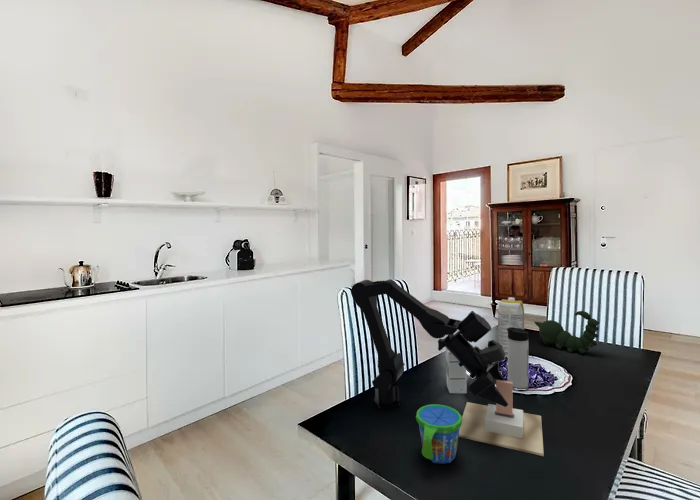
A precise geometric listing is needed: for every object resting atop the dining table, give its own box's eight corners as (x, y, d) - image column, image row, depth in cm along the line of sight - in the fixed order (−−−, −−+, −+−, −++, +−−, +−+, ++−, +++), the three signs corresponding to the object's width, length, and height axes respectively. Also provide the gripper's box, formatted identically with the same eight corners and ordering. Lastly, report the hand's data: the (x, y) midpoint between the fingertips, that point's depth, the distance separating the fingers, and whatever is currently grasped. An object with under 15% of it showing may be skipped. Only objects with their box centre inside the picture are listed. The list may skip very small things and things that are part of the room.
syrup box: (467, 393, 115) (466, 350, 114) (448, 393, 116) (448, 350, 115) (463, 385, 121) (462, 344, 120) (445, 385, 121) (445, 344, 120)
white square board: (484, 430, 94) (484, 419, 94) (488, 413, 102) (488, 403, 102) (522, 438, 90) (522, 426, 90) (523, 420, 98) (523, 409, 98)
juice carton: (524, 354, 146) (524, 297, 144) (522, 361, 139) (522, 301, 138) (500, 351, 151) (500, 295, 149) (497, 357, 144) (496, 299, 143)
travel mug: (503, 383, 121) (502, 326, 120) (521, 382, 122) (521, 325, 120) (513, 392, 115) (512, 331, 114) (532, 390, 116) (532, 330, 114)
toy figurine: (598, 357, 145) (538, 337, 165) (604, 313, 142) (542, 297, 162) (587, 363, 139) (526, 341, 160) (593, 317, 137) (530, 300, 157)
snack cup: (434, 432, 95) (433, 395, 94) (473, 447, 88) (472, 407, 87) (403, 463, 83) (402, 421, 82) (445, 483, 76) (444, 438, 76)
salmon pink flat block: (496, 413, 96) (495, 381, 95) (496, 410, 97) (496, 379, 96) (512, 416, 94) (512, 384, 93) (512, 414, 95) (512, 382, 95)
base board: (456, 436, 93) (456, 434, 93) (467, 403, 109) (467, 402, 109) (543, 456, 84) (543, 453, 84) (541, 417, 100) (541, 415, 100)
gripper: (481, 345, 88) (532, 396, 84) (489, 324, 104) (531, 366, 100) (450, 371, 92) (496, 421, 88) (461, 347, 108) (501, 388, 104)
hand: (507, 397), depth 95 cm, fingers open, 9 cm apart
